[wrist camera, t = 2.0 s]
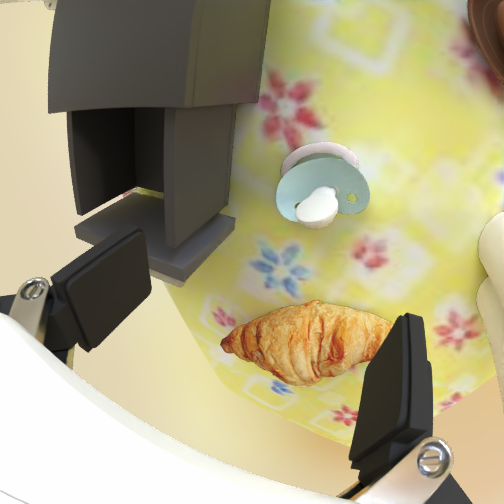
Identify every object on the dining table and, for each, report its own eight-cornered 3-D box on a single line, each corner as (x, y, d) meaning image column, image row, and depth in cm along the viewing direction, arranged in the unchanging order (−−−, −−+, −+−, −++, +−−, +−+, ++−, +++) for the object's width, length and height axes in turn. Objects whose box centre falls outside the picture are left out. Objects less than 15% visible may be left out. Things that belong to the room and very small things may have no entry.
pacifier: (271, 152, 23) (291, 218, 25) (241, 167, 18) (268, 250, 20) (356, 133, 19) (373, 205, 21) (354, 140, 14) (374, 236, 16)
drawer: (231, 266, 29) (186, 324, 22) (137, 235, 32) (85, 274, 25) (250, 69, 19) (188, 57, 12) (133, 71, 22) (60, 78, 15)
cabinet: (258, 102, 21) (184, 108, 12) (133, 97, 24) (47, 114, 16) (277, -52, 12) (221, -114, 4) (149, -30, 15) (70, -50, 7)
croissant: (401, 281, 27) (405, 293, 20) (406, 367, 27) (407, 401, 20) (232, 302, 37) (194, 314, 30) (244, 373, 36) (210, 397, 29)
